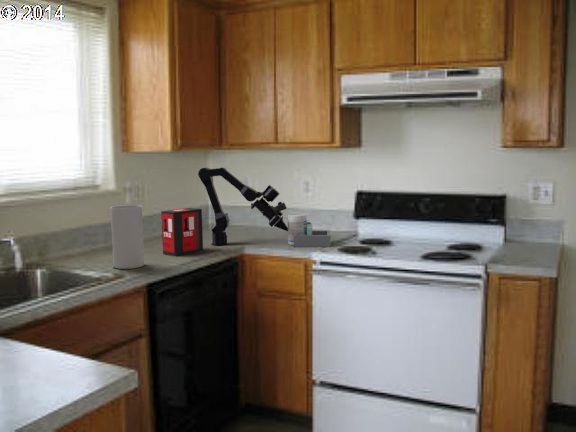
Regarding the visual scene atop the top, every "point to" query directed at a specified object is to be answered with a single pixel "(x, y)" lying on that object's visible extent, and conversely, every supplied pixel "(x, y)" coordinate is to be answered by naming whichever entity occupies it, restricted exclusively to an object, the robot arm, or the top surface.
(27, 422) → the top surface
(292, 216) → the supplement tub
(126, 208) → the cylinder vase
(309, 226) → the plate
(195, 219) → the cleaning product box
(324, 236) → the grey tray
